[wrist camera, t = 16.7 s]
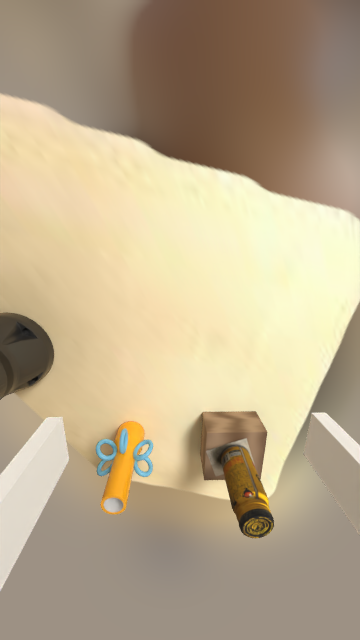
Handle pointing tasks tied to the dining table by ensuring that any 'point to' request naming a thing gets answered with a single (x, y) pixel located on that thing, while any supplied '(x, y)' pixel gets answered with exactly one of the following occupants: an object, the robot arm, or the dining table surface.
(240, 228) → the dining table surface
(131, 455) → the cylinder
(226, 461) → the condiment
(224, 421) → the riser
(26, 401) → the dining table surface
